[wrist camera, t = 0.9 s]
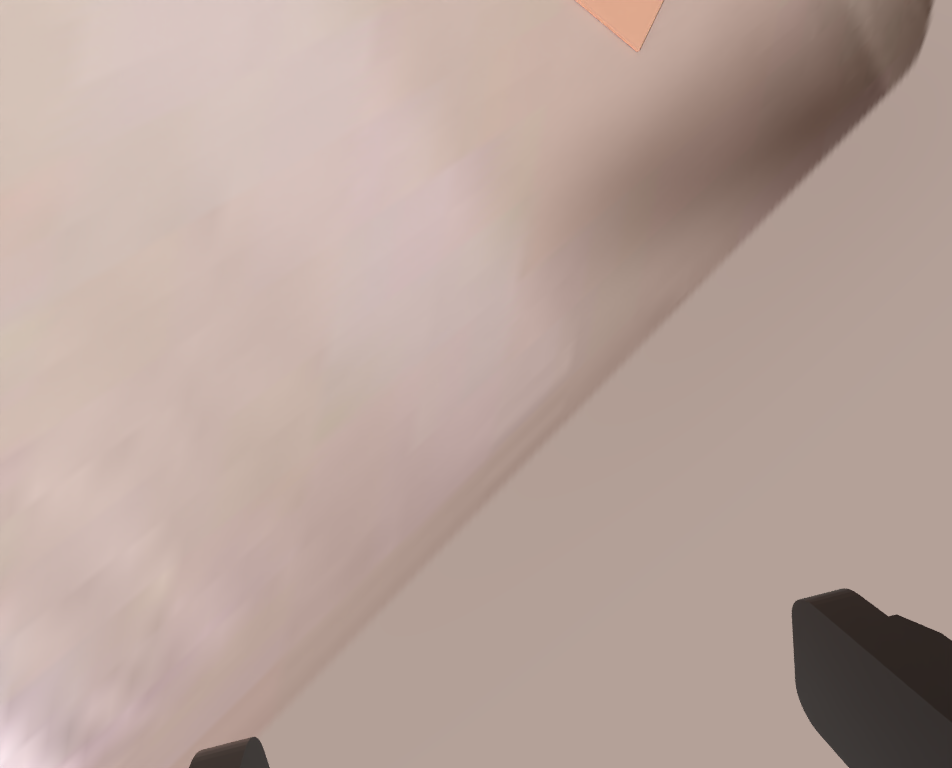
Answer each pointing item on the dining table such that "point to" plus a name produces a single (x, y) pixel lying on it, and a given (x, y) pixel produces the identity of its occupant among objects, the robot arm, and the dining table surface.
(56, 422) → the dining table surface
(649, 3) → the pad
